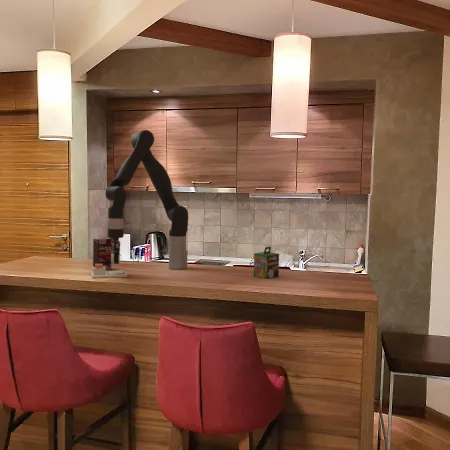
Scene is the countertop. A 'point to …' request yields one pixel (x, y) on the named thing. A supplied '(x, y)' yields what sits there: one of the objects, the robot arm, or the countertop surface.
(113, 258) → the cylinder
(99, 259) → the supplement box
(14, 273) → the countertop surface
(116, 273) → the white flat panel
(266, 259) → the chalk box
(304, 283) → the countertop surface
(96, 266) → the button
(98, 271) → the button housing
